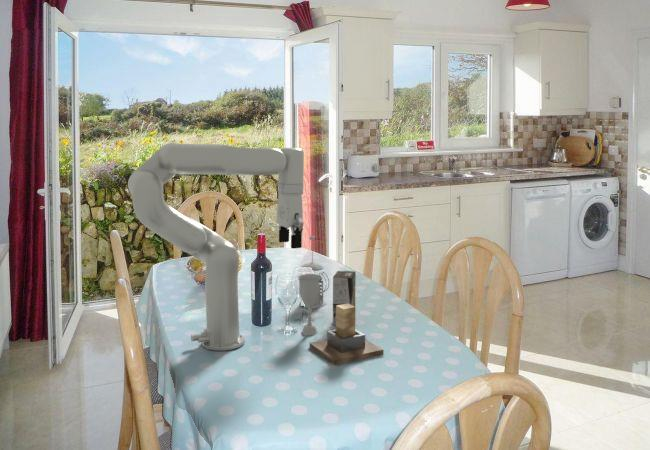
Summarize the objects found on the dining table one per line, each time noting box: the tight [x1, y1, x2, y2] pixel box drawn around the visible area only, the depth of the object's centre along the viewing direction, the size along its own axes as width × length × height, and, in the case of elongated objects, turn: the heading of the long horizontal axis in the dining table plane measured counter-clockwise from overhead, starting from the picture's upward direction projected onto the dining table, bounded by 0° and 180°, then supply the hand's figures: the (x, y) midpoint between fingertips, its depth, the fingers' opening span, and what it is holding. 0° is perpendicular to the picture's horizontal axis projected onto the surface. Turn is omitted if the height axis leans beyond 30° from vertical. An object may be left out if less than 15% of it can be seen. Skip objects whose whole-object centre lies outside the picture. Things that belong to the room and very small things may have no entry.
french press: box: [298, 235, 330, 309], centre depth 226 cm, size 10×12×25 cm
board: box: [309, 338, 384, 366], centre depth 184 cm, size 16×15×2 cm
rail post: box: [335, 303, 356, 338], centre depth 183 cm, size 4×4×12 cm
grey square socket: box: [326, 328, 366, 353], centre depth 183 cm, size 8×8×4 cm
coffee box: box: [332, 270, 356, 326], centre depth 209 cm, size 9×6×16 cm
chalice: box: [297, 273, 322, 336], centre depth 198 cm, size 7×7×18 cm
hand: (289, 244), depth 194 cm, fingers open, 9 cm apart
